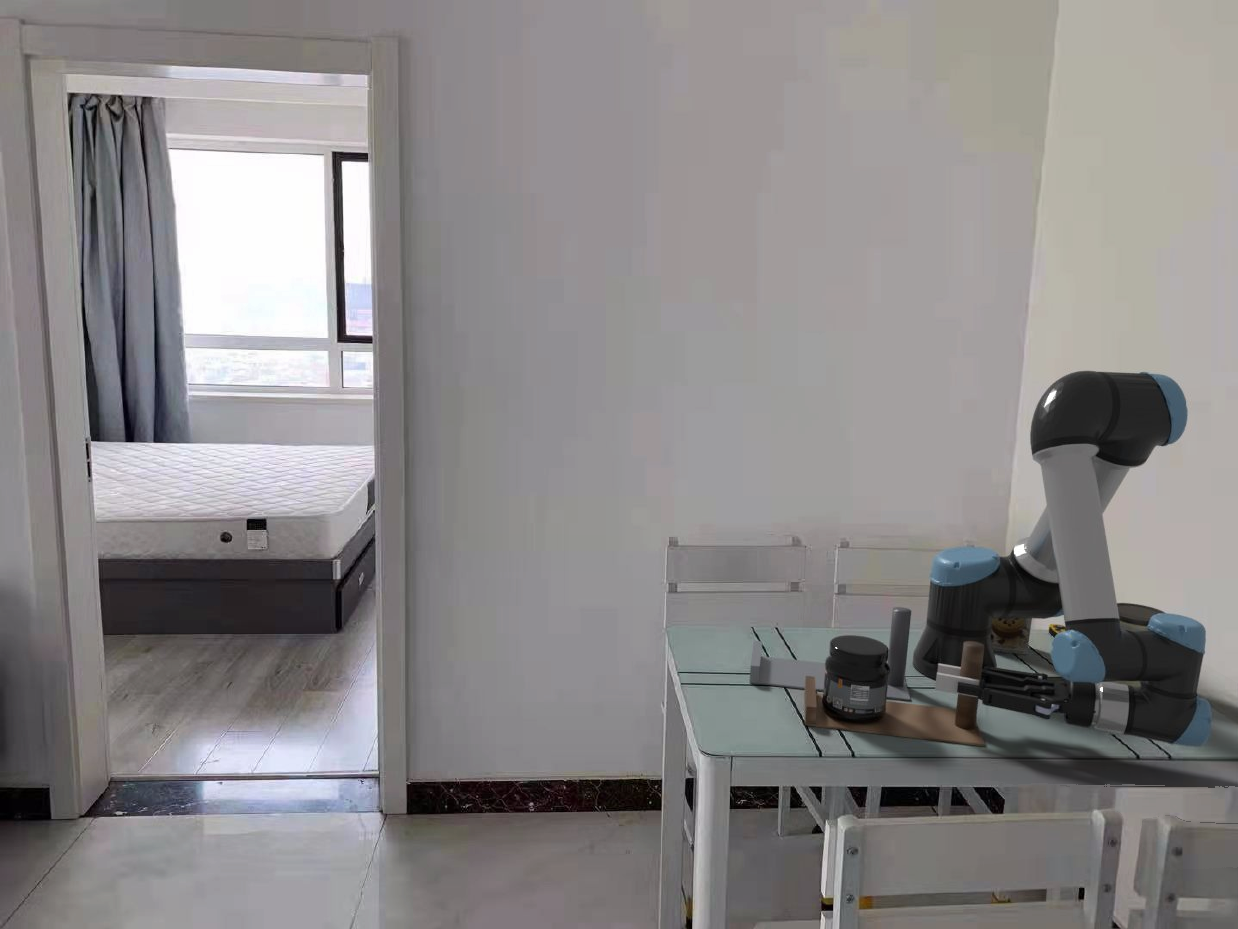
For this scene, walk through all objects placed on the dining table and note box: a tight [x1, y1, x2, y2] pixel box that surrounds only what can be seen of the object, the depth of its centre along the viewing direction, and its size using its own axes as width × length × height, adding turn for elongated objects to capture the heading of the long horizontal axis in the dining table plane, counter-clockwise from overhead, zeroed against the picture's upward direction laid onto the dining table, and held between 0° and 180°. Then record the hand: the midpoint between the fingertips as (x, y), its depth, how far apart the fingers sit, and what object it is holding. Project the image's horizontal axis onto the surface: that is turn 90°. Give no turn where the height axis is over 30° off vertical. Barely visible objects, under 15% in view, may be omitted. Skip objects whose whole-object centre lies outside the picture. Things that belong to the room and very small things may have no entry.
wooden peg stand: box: [803, 641, 986, 747], centre depth 156 cm, size 28×13×14 cm, turn 79°
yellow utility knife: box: [1048, 623, 1066, 639], centre depth 199 cm, size 5×2×15 cm
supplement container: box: [822, 634, 890, 724], centre depth 157 cm, size 10×10×12 cm
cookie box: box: [991, 618, 1033, 655], centre depth 192 cm, size 9×6×16 cm
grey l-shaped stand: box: [749, 606, 912, 702], centre depth 172 cm, size 28×13×14 cm, turn 79°
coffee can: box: [1117, 602, 1166, 687], centre depth 176 cm, size 10×10×14 cm
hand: (937, 676), depth 156 cm, fingers open, 4 cm apart
